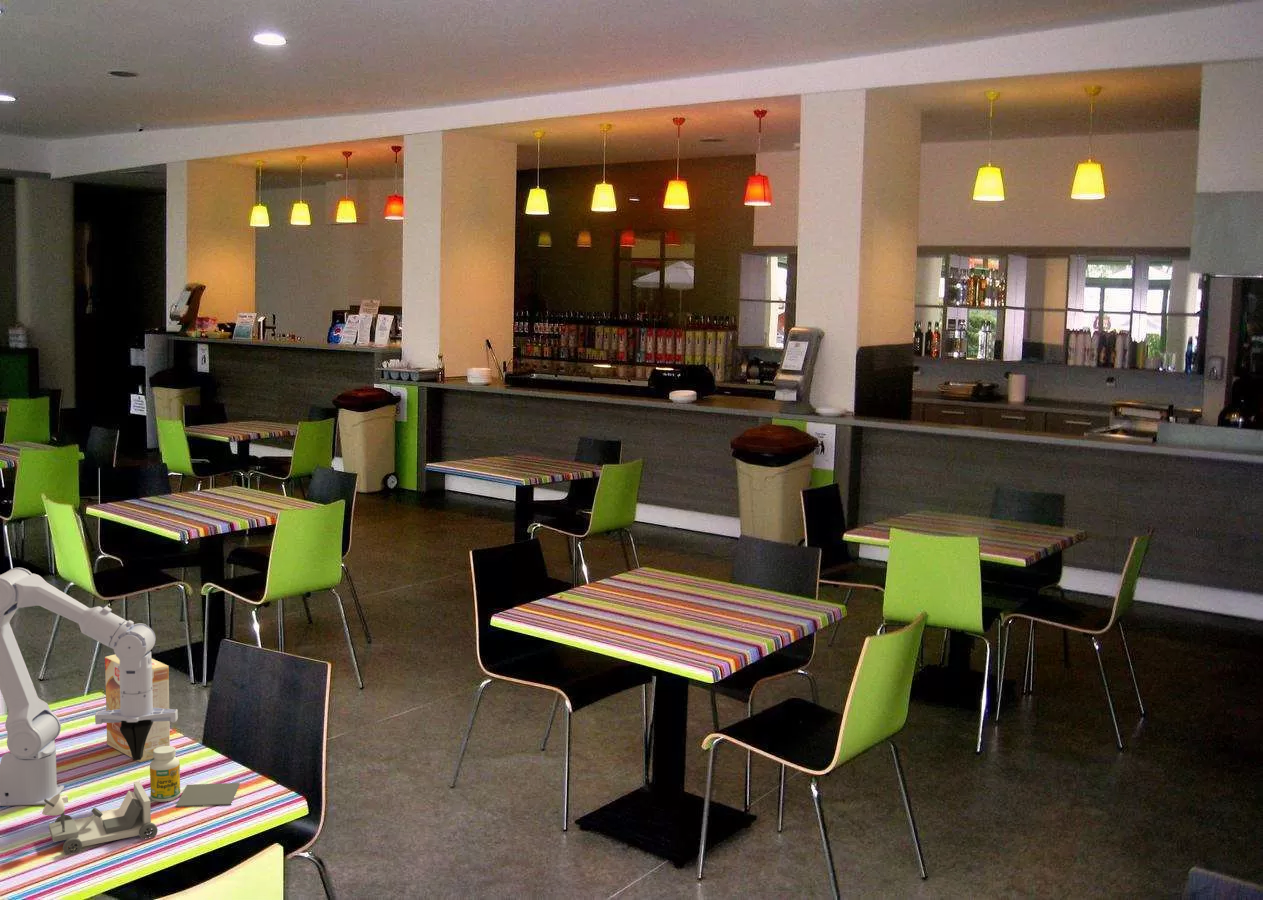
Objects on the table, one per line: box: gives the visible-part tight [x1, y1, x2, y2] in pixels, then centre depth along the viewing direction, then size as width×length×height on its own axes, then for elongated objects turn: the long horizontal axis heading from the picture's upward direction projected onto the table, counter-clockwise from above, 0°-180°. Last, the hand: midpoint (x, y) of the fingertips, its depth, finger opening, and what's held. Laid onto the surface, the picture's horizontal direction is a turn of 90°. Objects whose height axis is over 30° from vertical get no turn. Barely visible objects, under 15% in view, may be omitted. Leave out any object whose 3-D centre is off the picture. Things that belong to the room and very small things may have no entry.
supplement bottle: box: [149, 745, 181, 803], centre depth 228 cm, size 5×5×10 cm
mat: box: [175, 782, 241, 808], centre depth 230 cm, size 10×10×1 cm
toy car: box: [41, 780, 158, 856], centre depth 211 cm, size 18×10×12 cm
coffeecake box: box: [104, 654, 171, 763], centre depth 251 cm, size 15×7×20 cm, turn 49°
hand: (137, 758), depth 227 cm, fingers closed
